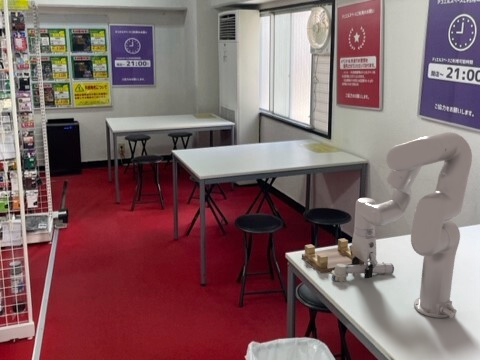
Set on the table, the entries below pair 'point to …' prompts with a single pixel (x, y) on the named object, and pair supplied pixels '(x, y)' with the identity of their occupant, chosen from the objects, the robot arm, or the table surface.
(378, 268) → the electric toothbrush handle
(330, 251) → the rack
